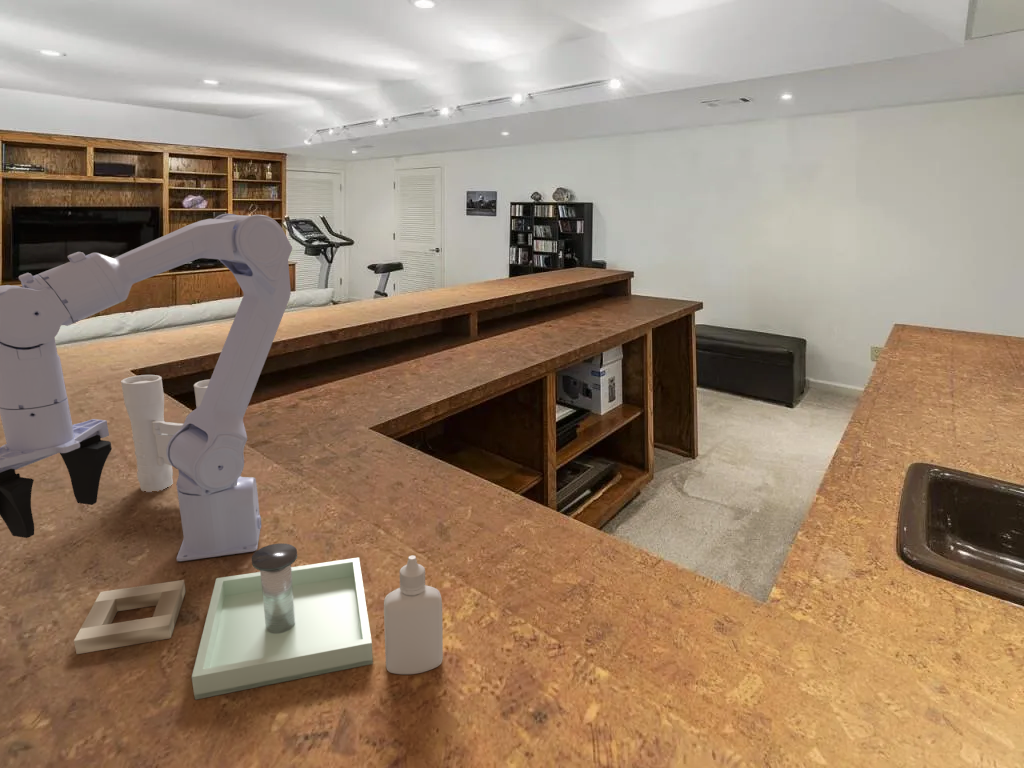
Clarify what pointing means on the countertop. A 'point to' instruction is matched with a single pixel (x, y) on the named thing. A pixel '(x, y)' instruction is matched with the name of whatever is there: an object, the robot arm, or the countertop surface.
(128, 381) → the binoculars
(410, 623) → the eye dropper bottle
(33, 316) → the robot arm
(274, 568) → the pin
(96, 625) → the pin collar
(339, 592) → the tray
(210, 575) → the countertop surface
